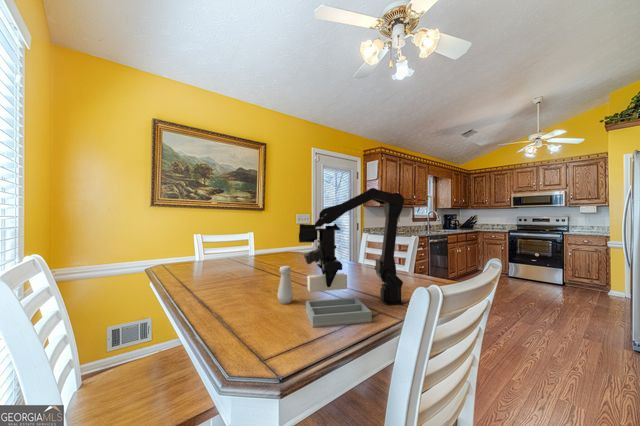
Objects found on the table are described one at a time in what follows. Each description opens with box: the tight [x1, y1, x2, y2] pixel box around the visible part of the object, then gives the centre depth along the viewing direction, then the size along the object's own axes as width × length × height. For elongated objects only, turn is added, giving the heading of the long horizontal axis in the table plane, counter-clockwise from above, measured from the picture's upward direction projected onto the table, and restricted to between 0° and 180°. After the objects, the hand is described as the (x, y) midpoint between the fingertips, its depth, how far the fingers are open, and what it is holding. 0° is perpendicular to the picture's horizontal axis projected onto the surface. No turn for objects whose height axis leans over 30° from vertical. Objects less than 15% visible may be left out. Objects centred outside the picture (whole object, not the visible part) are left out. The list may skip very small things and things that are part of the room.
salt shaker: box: [277, 265, 294, 305], centre depth 92 cm, size 6×6×13 cm
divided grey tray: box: [305, 297, 373, 328], centre depth 79 cm, size 18×13×3 cm
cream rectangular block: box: [306, 272, 348, 293], centre depth 91 cm, size 14×4×5 cm, turn 105°
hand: (327, 285), depth 91 cm, fingers closed on cream rectangular block, 4 cm apart
